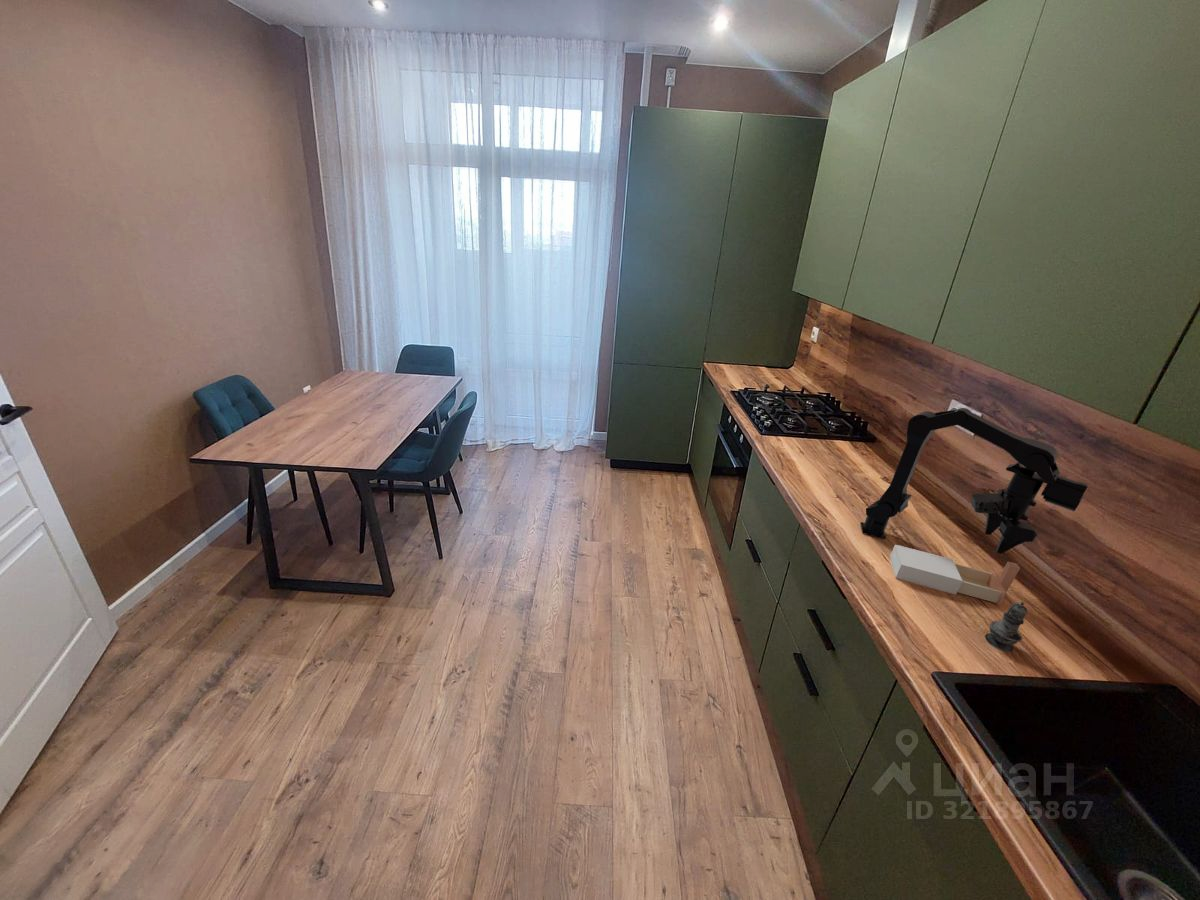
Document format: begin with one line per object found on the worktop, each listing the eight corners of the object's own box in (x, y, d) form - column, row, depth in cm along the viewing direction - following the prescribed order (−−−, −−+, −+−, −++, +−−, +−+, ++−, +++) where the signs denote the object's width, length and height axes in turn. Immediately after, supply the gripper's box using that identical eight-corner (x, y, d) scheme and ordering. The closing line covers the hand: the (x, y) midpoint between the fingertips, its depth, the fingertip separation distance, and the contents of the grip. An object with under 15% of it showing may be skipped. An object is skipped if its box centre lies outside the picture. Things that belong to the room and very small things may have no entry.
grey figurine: (984, 628, 113) (1006, 588, 108) (1015, 642, 109) (1039, 602, 104) (982, 642, 108) (1006, 602, 103) (1015, 657, 105) (1040, 616, 100)
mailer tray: (928, 566, 133) (941, 537, 129) (995, 584, 128) (1011, 555, 124) (937, 588, 124) (951, 558, 120) (1009, 608, 120) (1026, 577, 116)
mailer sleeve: (889, 557, 136) (895, 544, 134) (945, 572, 132) (952, 559, 130) (895, 578, 127) (901, 564, 125) (955, 594, 123) (962, 581, 121)
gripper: (972, 469, 129) (948, 517, 136) (995, 500, 113) (967, 553, 120) (1021, 479, 126) (994, 528, 132) (1052, 513, 110) (1020, 567, 116)
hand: (992, 543), depth 125 cm, fingers open, 9 cm apart
